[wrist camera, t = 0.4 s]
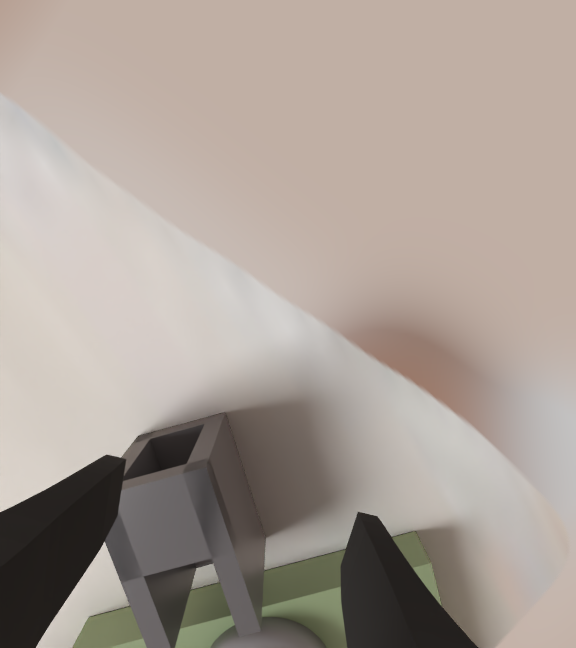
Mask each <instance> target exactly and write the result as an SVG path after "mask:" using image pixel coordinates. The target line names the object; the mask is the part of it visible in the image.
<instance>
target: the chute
mask: <svg viewBox="0 0 576 648" xmlns="http://www.w3.org/2000/svg"><path fill="white" fill-rule="evenodd" d="M121 458H124V459H126V465H125V471H124V477H123V484H122V490H121V497H120V503H119V509H118V516H117V518H116V520H115V522H114V524H113V526H112V528H111V530H110V532H109V534H108V536H107V537H106V539H105V543H106V546H107V548H108V551H109V553H110V556H111V558H112V561H113V563H114V566H115V568H116V571H117V574H118V576H119V579H120V581H121V584H122V586H123V589H124V591H125V594H126V596H127V599H128V601H129V604H130V607H131V609H132V612H133V614H134V617H135V619H136V622H137V624H138V627H139V629H140V632H141V634H142V637H143V640H144V642H145V645H146V647H147V648H175V646H176V642H177V638H178V635H179V631H180V627H181V623H182V620H183V616H184V612H185V608H186V605H187V601H188V597H189V593H190V590H191V586H192V582H193V578H194V575H195V571H196V568H198V567H202V566H206V565H209V564H213V563H214V566H215V569H216V572H217V575H218V578H219V581H220V584H221V586H222V589H223V592H224V595H225V598H226V601H227V604H228V607H229V609H230V612H231V615H232V618H233V621H234V624H235V627H236V630H237V632H238V635H239V637H241V636H244V635H248V634H252V633H256V632H260V631H261V622H262V602H263V581H264V560H265V539H266V538H265V535H264V532H263V529H262V525H261V522H260V519H259V516H258V513H257V510H256V507H255V504H254V500H253V497H252V494H251V491H250V488H249V485H248V482H247V479H246V475H245V472H244V469H243V466H242V463H241V460H240V457H239V454H238V450H237V447H236V444H235V441H234V438H233V435H232V432H231V429H230V425H229V422H228V419H227V416H226V413H225V412H224V413H220V414H216V415H213V416H209V417H206V418H202V419H198V420H195V421H191V422H187V423H184V424H180V425H176V426H173V427H169V428H165V429H162V430H158V431H154V432H151V433H147V434H143V435H140V436H138V437H137V438H136V439H135V441H134V442H133V443H132V444H131V446H130V447H129V448H128V450H127V451H126V452H125V453H124V455H123V456H122V457H121Z"/></svg>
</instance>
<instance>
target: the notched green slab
mask: <svg viewBox="0 0 576 648" xmlns="http://www.w3.org/2000/svg"><path fill="white" fill-rule="evenodd" d="M392 539H393V540H394V542H395V543H396V545H397V546H398V548H399V549H400V551H401V552H402V554H403V555H404V557H405V558H406V559H407V561H408V562H409V564H410V565H411V567H412V568H413V569H414V571H415V572H416V574H417V575H418V576H419V578H420V579H421V580H422V582H423V583H424V584H425V586H426V587H427V588H428V590H429V591H430V592H431V594H432V595H433V596H434V597H435V599H436V600H437V601H438V602H439V604H440V605H441V600H440V596H439V592H438V588H437V584H436V580H435V576H434V572H433V568H432V564H431V561H430V559H429V557H428V555H427V553H426V551H425V549H424V547H423V545H422V543H421V541H420V539H419V537H418V535H417V533H416V531H414V532H410V533H406V534H403V535H399V536H395V537H392ZM345 551H346V550H342V551H338V552H334V553H331V554H327V555H323V556H319V557H316V558H312V559H308V560H304V561H300V562H297V563H293V564H289V565H285V566H281V567H278V568H274V569H270V570H266V571H264V581H263V602H262V622H261V631H260V632H256V633H252V634H248V635H244V636H241V637H239V635H238V632H237V630H236V627H235V624H234V621H233V618H232V615H231V612H230V609H229V607H228V604H227V601H226V598H225V595H224V592H223V589H222V586H221V584H220V583H217V584H213V585H210V586H206V587H202V588H198V589H194V590H191V591H190V593H189V597H188V601H187V605H186V608H185V612H184V616H183V620H182V623H181V627H180V631H179V635H178V638H177V642H176V646H175V648H347V642H346V635H345V628H344V620H343V613H342V605H341V569H340V566H341V563H342V560H343V557H344V554H345ZM441 606H442V605H441ZM73 648H147V647H146V645H145V642H144V640H143V637H142V634H141V632H140V629H139V627H138V624H137V622H136V619H135V617H134V614H133V612H132V609H131V607H126V608H123V609H119V610H115V611H111V612H107V613H104V614H100V615H96V616H92V617H89V618H88V619H87V621H86V623H85V625H84V627H83V629H82V631H81V633H80V635H79V636H78V638H77V640H76V642H75V644H74V646H73Z"/></svg>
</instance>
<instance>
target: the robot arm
mask: <svg viewBox="0 0 576 648" xmlns="http://www.w3.org/2000/svg"><path fill="white" fill-rule="evenodd" d="M125 465H126V459H124V458H119V457H115V456H110V455H105V456H103V457H102V458H100V459H98V460H96V461H95V462H93V463H91V464H89V465H88V466H86V467H84V468H83V469H81V470H79V471H78V472H76V473H74V474H72V475H71V476H69V477H67V478H66V479H64V480H62V481H60V482H58V483H57V484H55V485H53V486H51V487H49V488H48V489H46V490H44V491H42V492H40V493H38V494H36V495H34V496H32V497H30V498H28V499H27V500H25V501H23V502H21V503H19V504H17V505H15V506H13V507H11V508H9V509H6V510H4V511H2V512H0V648H36V646H37V644H38V643H39V641H40V639H41V638H42V636H43V635H44V633H45V631H46V630H47V628H48V626H49V625H50V623H51V622H52V620H53V619H54V617H55V616H56V614H57V613H58V612H59V610H60V609H61V607H62V606H63V604H64V603H65V601H66V600H67V598H68V597H69V595H70V594H71V592H72V591H73V589H74V588H75V586H76V585H77V583H78V582H79V580H80V579H81V577H82V576H83V574H84V573H85V571H86V570H87V568H88V567H89V565H90V564H91V562H92V561H93V559H94V558H95V556H96V555H97V553H98V552H99V550H100V549H101V547H102V545H103V543H104V541H105V539H106V537H107V536H108V534H109V532H110V530H111V528H112V526H113V524H114V522H115V520H116V518H117V516H118V509H119V503H120V497H121V490H122V484H123V477H124V471H125ZM340 569H341V605H342V613H343V620H344V628H345V635H346V642H347V648H478V647H477V646H476V645H475V644H474V643H473V642H472V641H471V640H470V638H469V637H468V636H467V635H466V634H465V633H464V632H463V631H462V630H461V628H460V627H459V626H458V625H457V624H456V623H455V622H454V621H453V619H452V618H451V617H450V616H449V615H448V614H447V612H446V611H445V610H444V609H443V608H442V606H441V605H440V604H439V602H438V601H437V600H436V599H435V597H434V596H433V595H432V594H431V592H430V591H429V590H428V588H427V587H426V586H425V584H424V583H423V582H422V580H421V579H420V578H419V576H418V575H417V574H416V572H415V571H414V569H413V568H412V567H411V565H410V564H409V562H408V561H407V559H406V558H405V557H404V555H403V554H402V552H401V551H400V549H399V548H398V546H397V545H396V543H395V542H394V540H393V539H392V537H391V536H390V534H389V533H388V531H387V530H386V528H385V527H384V525H383V524H382V522H381V521H380V519H379V518H378V516H373V515H369V514H365V513H360V512H358V514H357V517H356V520H355V523H354V526H353V529H352V532H351V535H350V538H349V541H348V544H347V548H346V551H345V554H344V557H343V560H342V563H341V566H340Z"/></svg>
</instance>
